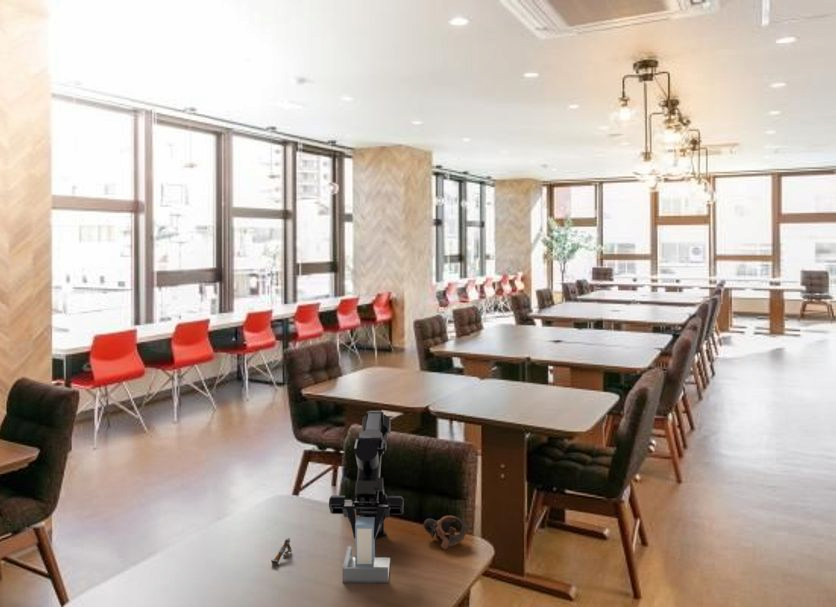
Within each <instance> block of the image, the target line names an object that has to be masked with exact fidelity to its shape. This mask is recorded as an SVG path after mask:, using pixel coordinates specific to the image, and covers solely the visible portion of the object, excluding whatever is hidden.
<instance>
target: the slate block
mask: <svg viewBox="0 0 836 607" xmlns="http://www.w3.org/2000/svg"><path fill="white" fill-rule="evenodd" d="M374 528H375V517H359V516H356V523H355V539H354V545H355V546H354V548H355V549H354V551H355V552H354V555H355V556H354V557H355V567H374V561H375V557H376V555H375V554H376V549H375V548H376V547H375V546H376V545H375V544H376V542H375V541H376V539H374Z"/></svg>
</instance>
